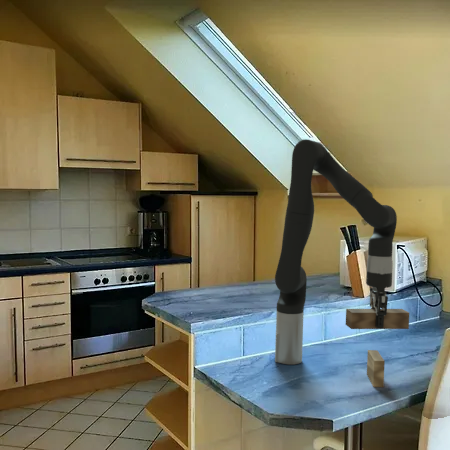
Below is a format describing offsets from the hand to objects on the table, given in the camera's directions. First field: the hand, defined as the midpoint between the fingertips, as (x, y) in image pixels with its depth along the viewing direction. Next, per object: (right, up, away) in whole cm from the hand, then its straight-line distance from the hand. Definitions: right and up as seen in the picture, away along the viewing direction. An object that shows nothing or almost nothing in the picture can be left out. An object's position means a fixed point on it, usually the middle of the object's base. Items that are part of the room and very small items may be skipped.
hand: (377, 324), depth 148 cm
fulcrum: (0, -17, +1) cm, 17 cm away
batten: (0, -1, 0) cm, 1 cm away
